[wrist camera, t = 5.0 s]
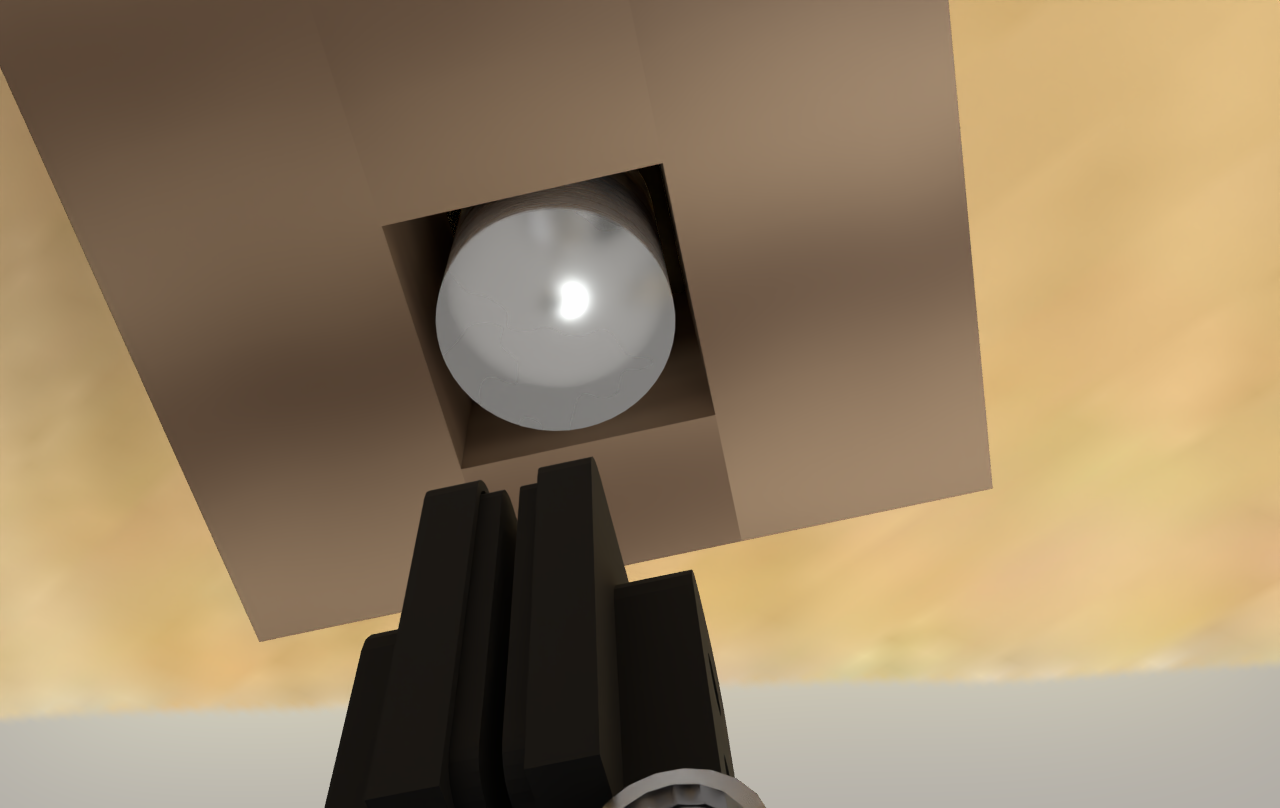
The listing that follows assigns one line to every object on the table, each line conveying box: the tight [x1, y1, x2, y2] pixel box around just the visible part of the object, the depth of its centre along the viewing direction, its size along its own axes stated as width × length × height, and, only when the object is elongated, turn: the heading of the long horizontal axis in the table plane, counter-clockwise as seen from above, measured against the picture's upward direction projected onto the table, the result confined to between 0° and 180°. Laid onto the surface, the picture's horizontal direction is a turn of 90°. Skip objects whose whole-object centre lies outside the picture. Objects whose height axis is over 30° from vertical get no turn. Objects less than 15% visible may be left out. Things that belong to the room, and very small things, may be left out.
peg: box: [436, 169, 675, 431], centre depth 22 cm, size 4×4×6 cm
